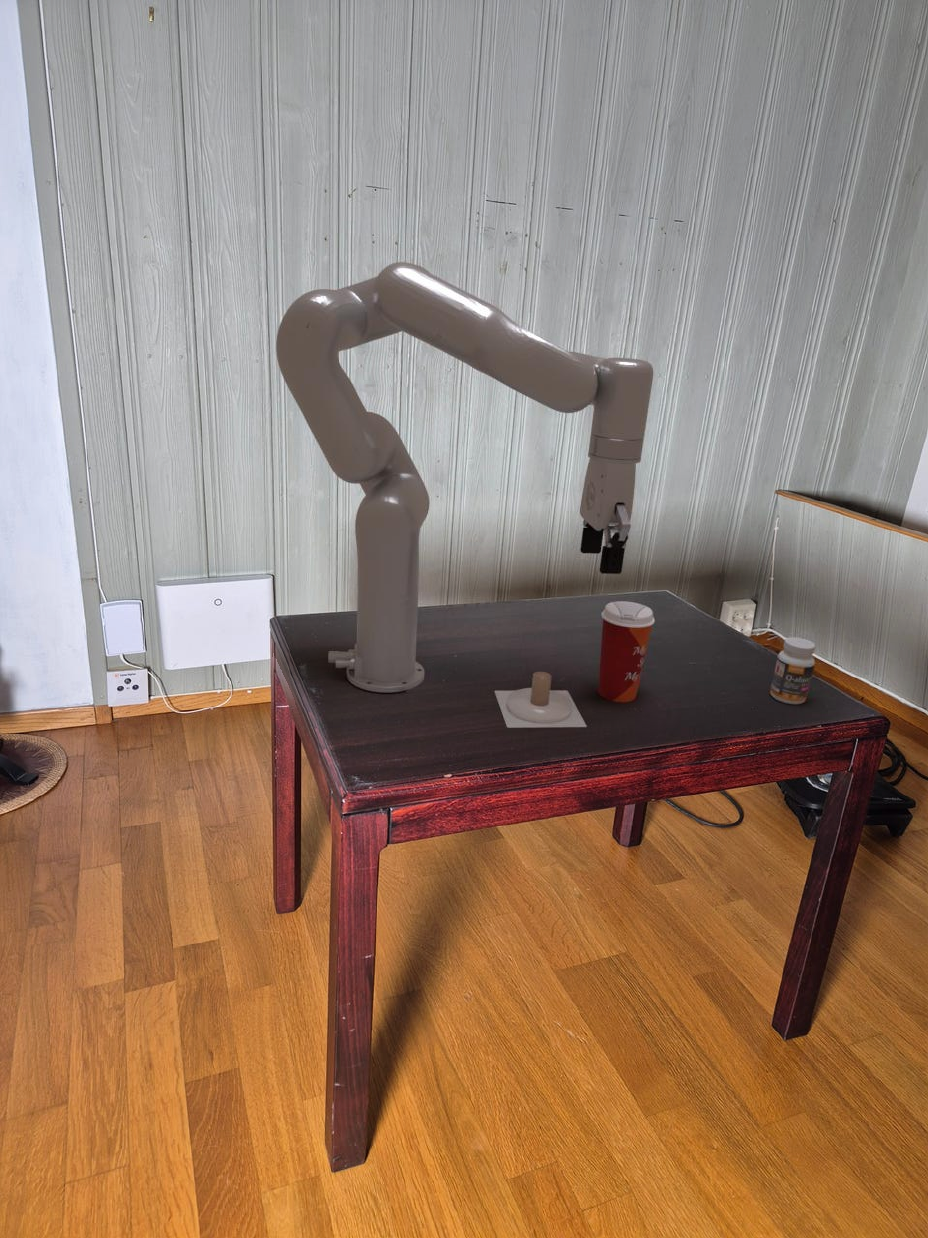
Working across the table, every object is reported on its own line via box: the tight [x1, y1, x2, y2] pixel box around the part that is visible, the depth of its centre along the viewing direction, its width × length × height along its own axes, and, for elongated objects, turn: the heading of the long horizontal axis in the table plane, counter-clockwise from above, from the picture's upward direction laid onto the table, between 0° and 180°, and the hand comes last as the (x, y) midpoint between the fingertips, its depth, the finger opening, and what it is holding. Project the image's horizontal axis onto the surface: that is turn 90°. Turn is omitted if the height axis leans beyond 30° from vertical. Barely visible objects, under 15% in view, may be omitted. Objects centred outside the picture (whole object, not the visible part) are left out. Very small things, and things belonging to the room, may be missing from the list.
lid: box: [507, 671, 572, 724], centre depth 128 cm, size 10×10×6 cm
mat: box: [494, 689, 588, 729], centre depth 129 cm, size 12×12×1 cm
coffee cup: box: [598, 600, 655, 703], centre depth 133 cm, size 8×8×15 cm
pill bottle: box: [769, 636, 816, 705], centre depth 137 cm, size 6×6×10 cm
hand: (599, 562), depth 126 cm, fingers open, 9 cm apart
